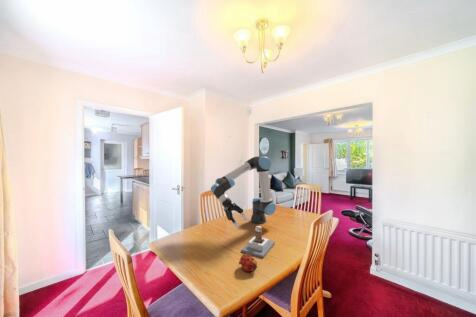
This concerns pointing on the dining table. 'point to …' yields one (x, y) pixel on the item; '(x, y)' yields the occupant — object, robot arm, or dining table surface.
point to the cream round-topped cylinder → (258, 234)
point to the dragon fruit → (248, 263)
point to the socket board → (258, 252)
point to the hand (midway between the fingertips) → (242, 222)
